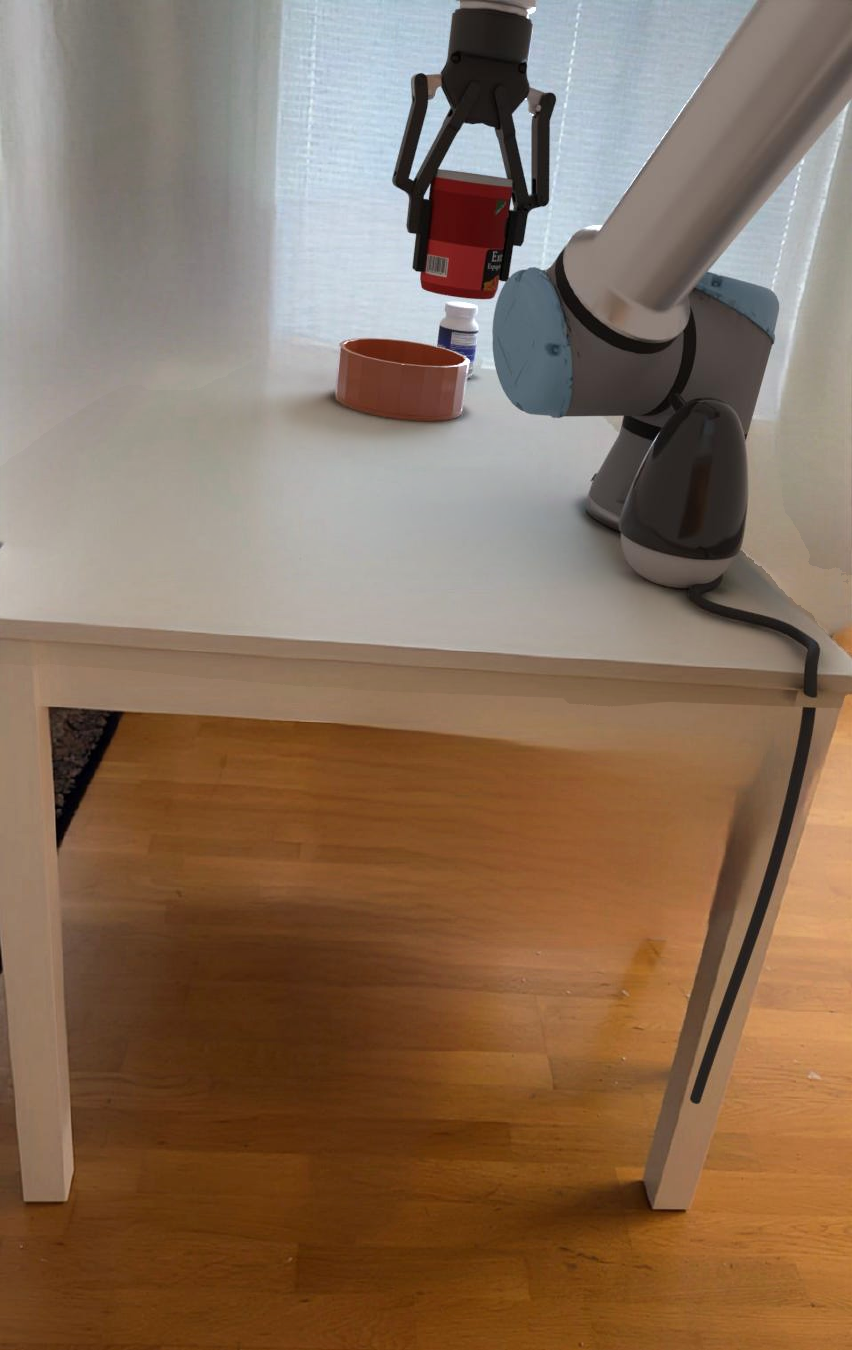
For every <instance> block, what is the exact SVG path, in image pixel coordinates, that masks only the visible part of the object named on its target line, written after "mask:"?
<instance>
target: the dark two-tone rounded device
mask: <svg viewBox="0 0 852 1350" xmlns="http://www.w3.org/2000/svg"><path fill="white" fill-rule="evenodd" d="M668 402H669V404H670V406H671V407H672V409H673V411H674V414H673V415H672V416H671V417H670V418H669V419H668V421H667V422H666V423H665V425H664V426H663V427H662V429H661V430H660V432H659V433H658V435H657V436H656V438H655V439H654V441H653V443H652V445H651V446H650V448H649V450H648V452H647V453H646V455H645V457H644V459H643V461H642V463H641V465H640V467H639V469H638V471H637V473H636V475H635V477H634V480H633V482H632V485H631V487H630V490H629V492H628V495H627V497H626V500H625V503H624V506H623V509H622V512H621V515H620V519H619V525H618V527H619V530H620V531H619V533H620V544H621V549H622V552H623V555H624V558H625V560H626V562H627V563H628V565H629V566H630V567H631V568H632V569H633V571H634V572H635V573H637V574H638V575H639V576H641V577H642V578H644V579H645V580H647V581H649V582H651V583H653V584H656V585H660V586H662V587H668V588H673V589H689V588H690V587H692V586H693V585H695V584H705V583H709V582H712V581H713V580H715V579H716V578H718V577H719V576H720V575H721V574H723V573H725V571H726V570H727V569H728V567H729V566H730V565H731V563H732V561H733V560H734V558H735V556H737V555H738V554H739V553H740V551H741V549H742V547H743V542H744V537H745V532H746V524H747V517H748V516H747V515H748V504H749V462H748V461H749V460H748V450H747V443H746V442H747V441H746V442H745V437H744V432H743V429H742V425H741V422H740V420H739V417H738V415H737V414H736V412H735V411H734V409H733V408H732V407H731V406H729V405H728V404H727V403H725V402H724V401H722V400H720V399H717V398H712V397H701V398H696V399H693V400H691V401H688V402H686V401H685V400H684V399H683V398H682V396H681V395H680V394H679V393H672V394H671V395H670V396H669V398H668Z"/></svg>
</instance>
